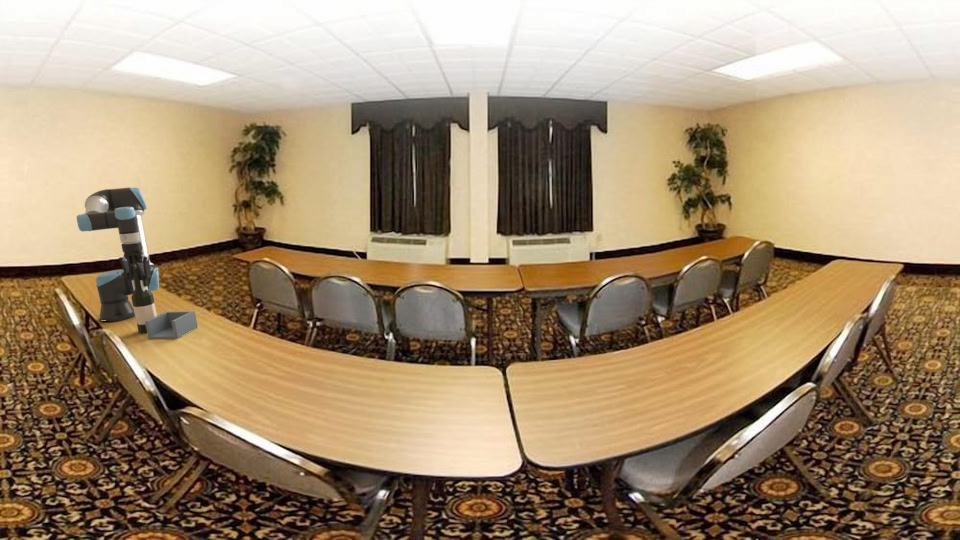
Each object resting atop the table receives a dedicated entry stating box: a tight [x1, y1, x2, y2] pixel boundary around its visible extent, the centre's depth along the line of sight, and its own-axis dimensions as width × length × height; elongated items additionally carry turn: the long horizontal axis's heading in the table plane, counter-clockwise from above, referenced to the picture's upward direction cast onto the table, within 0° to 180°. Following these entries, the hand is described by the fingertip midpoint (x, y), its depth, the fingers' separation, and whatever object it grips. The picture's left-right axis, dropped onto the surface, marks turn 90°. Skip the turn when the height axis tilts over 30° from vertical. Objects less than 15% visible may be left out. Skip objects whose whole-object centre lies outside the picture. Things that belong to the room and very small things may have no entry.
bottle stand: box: [145, 310, 199, 340], centre depth 244 cm, size 14×14×8 cm
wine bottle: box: [130, 266, 158, 334], centre depth 247 cm, size 8×8×30 cm
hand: (141, 293), depth 247 cm, fingers closed on wine bottle, 3 cm apart
